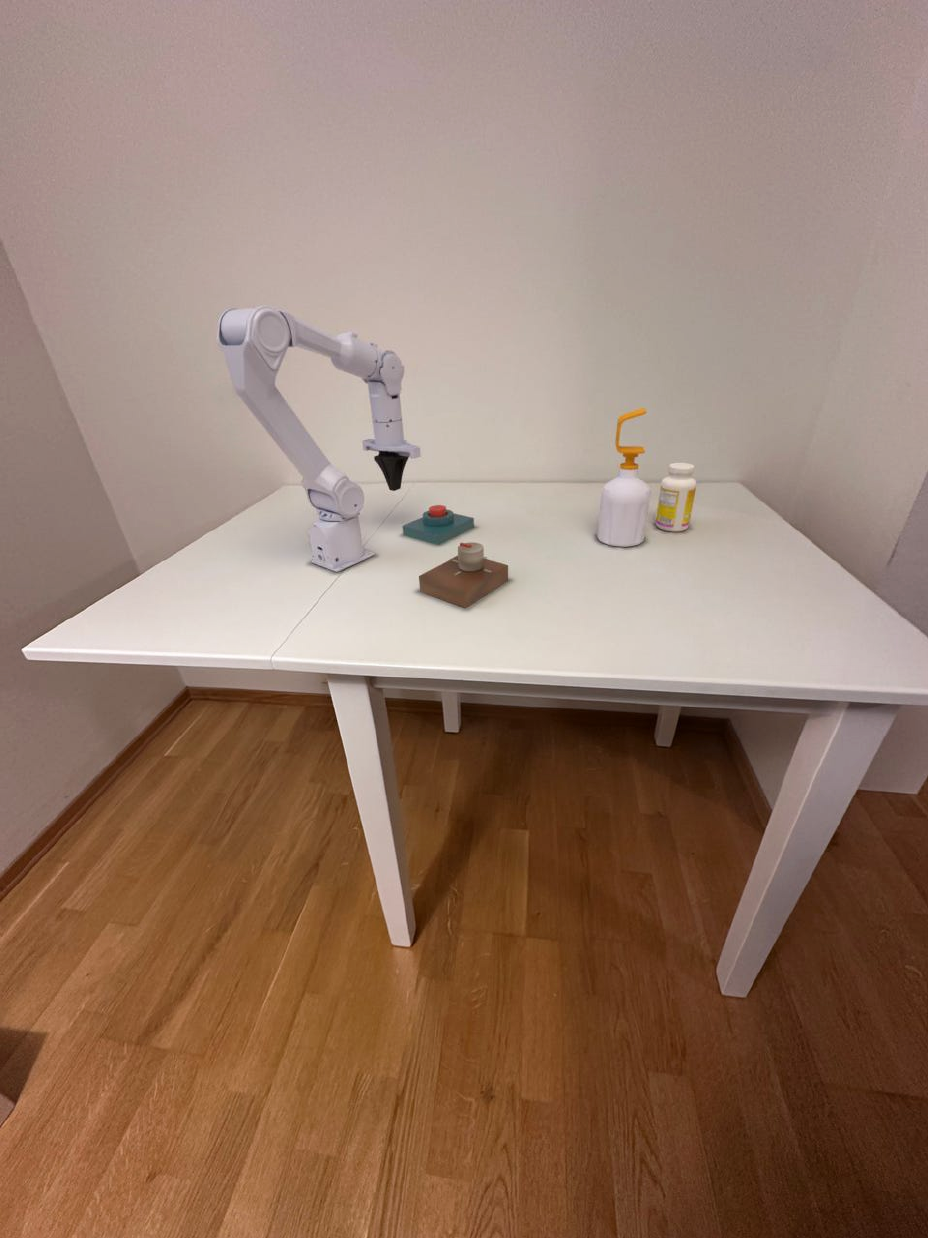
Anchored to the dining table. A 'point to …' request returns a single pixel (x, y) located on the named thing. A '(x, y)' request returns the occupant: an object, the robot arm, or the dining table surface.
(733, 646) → the dining table surface
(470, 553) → the knob
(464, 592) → the knob panel
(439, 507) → the button
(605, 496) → the soap bottle
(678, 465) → the supplement bottle
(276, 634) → the dining table surface
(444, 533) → the button console
